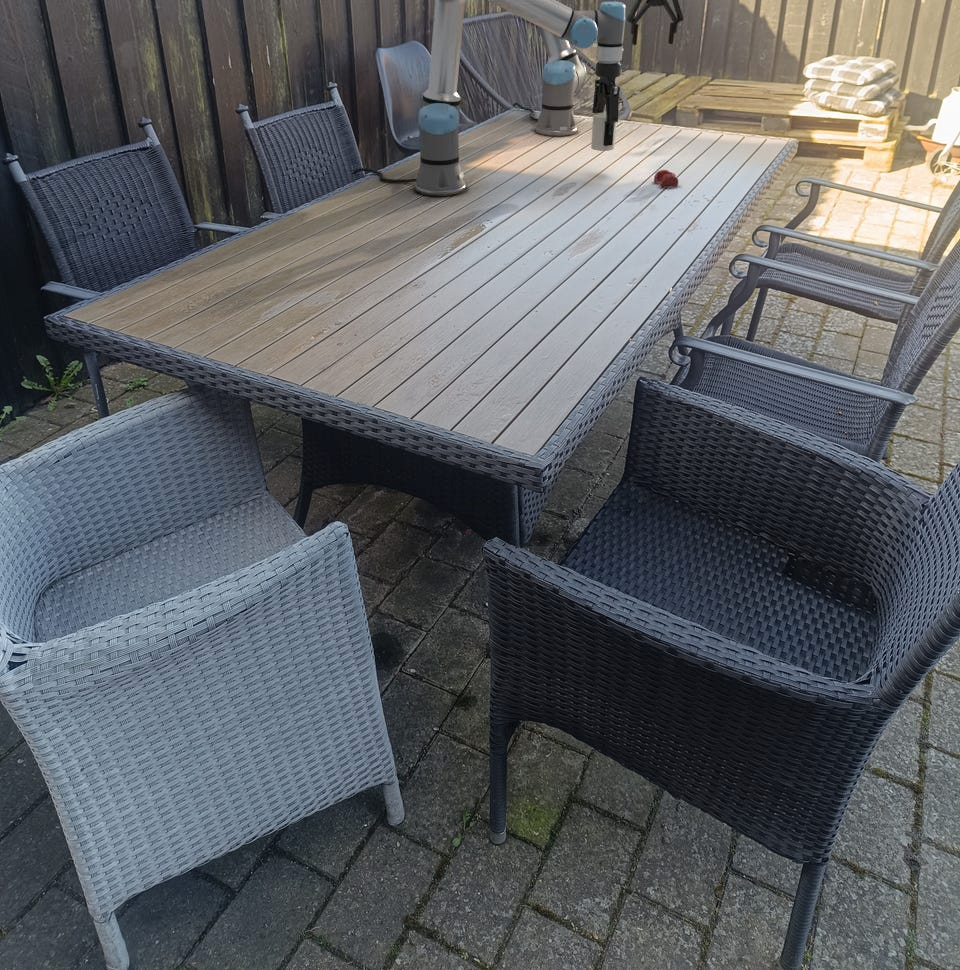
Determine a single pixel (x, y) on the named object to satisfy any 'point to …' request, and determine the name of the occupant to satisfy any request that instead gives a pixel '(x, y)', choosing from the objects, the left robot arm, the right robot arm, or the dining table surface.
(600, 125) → the cylinder
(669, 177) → the red rounded lump
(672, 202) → the dining table surface
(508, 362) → the dining table surface
